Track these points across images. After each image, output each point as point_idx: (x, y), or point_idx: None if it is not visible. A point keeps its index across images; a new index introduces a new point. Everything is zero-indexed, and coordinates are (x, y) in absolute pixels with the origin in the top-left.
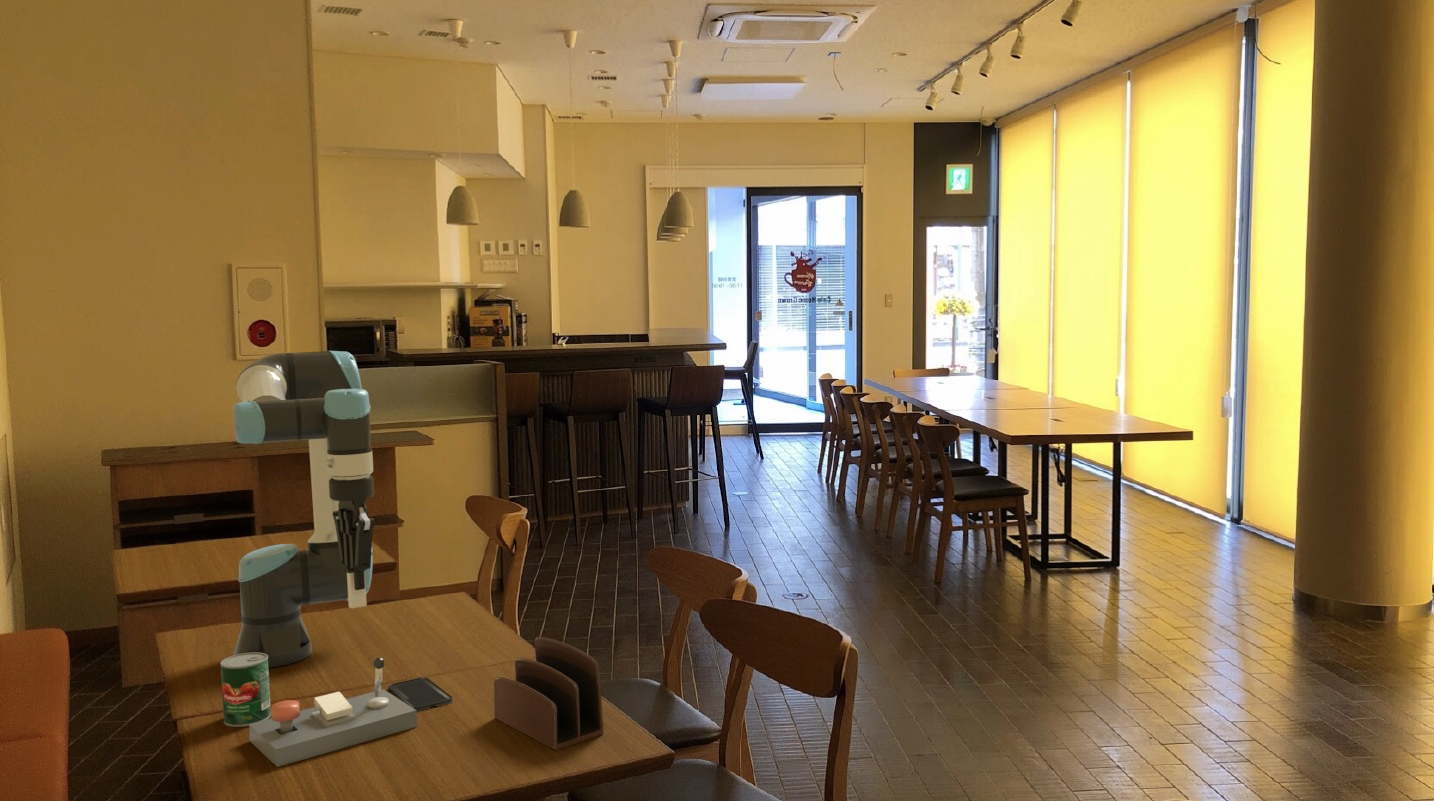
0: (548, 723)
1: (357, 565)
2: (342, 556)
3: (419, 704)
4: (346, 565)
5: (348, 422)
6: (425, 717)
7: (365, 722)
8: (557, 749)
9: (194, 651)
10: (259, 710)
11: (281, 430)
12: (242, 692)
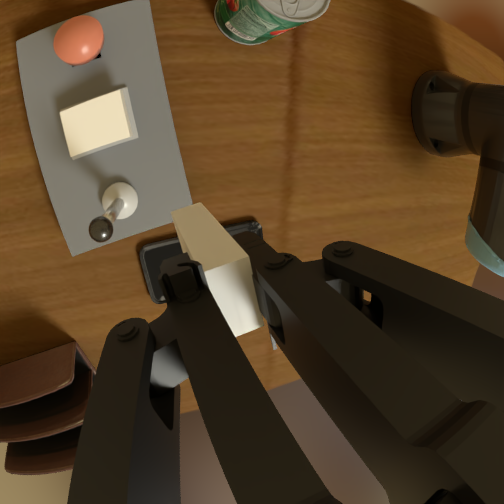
0: None
1: (102, 352)
2: (353, 270)
3: (153, 258)
4: (273, 270)
5: None
6: (108, 260)
7: (50, 174)
8: None
9: (473, 57)
10: (223, 20)
11: None
12: None
